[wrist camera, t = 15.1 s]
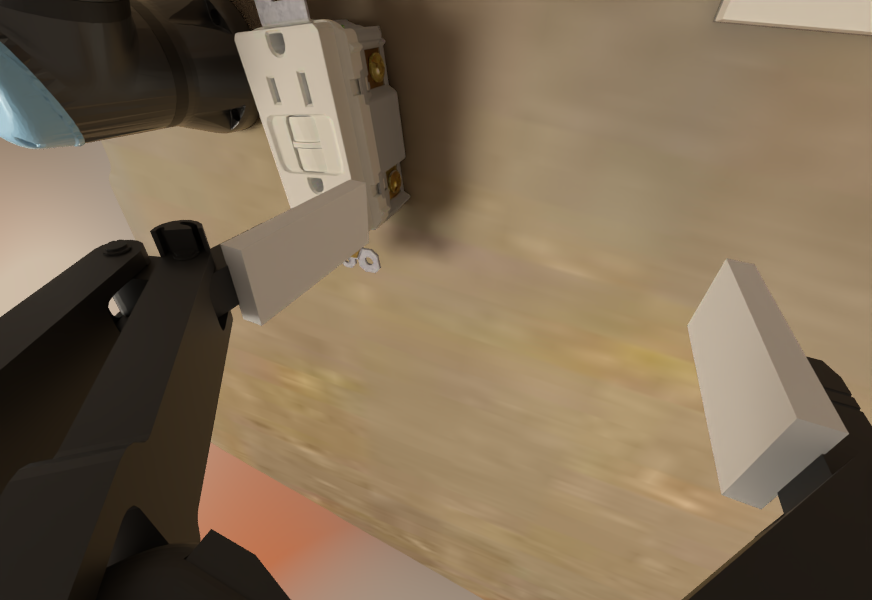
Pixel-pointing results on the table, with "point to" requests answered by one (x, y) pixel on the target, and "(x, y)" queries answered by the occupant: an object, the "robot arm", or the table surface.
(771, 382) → the robot arm
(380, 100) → the electrical outlet
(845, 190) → the table surface
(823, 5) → the socket plate
